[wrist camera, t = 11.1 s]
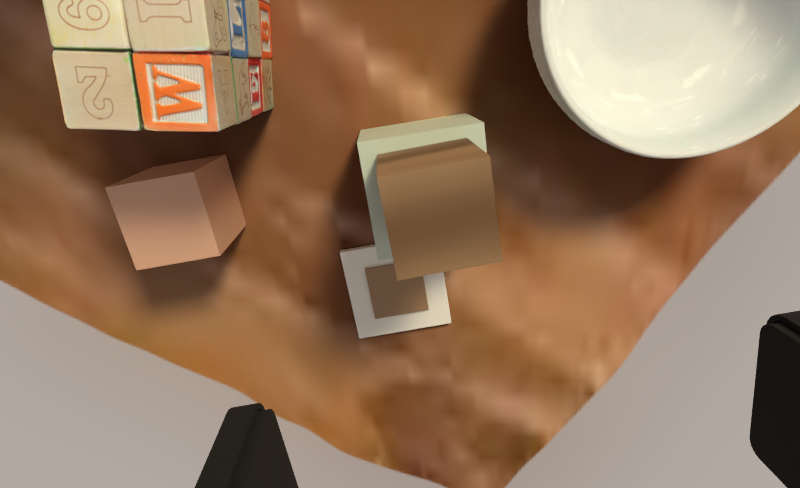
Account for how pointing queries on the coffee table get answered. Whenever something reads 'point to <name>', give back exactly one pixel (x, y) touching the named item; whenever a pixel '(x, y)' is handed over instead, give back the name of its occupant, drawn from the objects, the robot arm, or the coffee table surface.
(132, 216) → the terracotta block
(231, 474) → the robot arm
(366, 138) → the sage base block
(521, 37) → the coffee table surface
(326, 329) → the coffee table surface
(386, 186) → the walnut block
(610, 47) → the cereal bowl
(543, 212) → the coffee table surface
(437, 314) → the tile
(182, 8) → the stack of blocks
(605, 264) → the coffee table surface
